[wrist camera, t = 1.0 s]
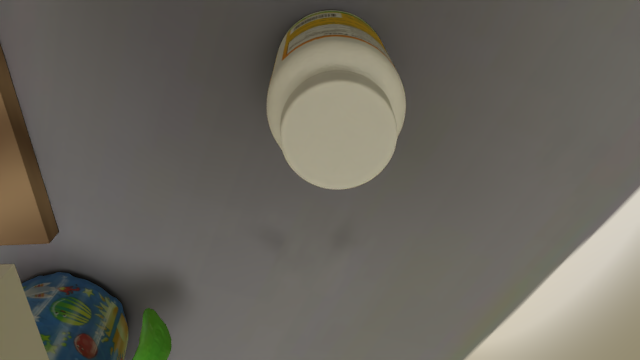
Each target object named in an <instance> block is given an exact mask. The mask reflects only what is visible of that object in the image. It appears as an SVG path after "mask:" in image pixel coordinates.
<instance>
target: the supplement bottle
mask: <svg viewBox="0 0 640 360" xmlns="http://www.w3.org/2000/svg"><path fill="white" fill-rule="evenodd" d="M405 112H406V98H405V92H404V88H403V85H402V82H401V79H400V77H399V75H398V73H397V71H396V69H395V67H394V65H393V63H392V61H391V59H390V57H389V56H388V54H387V52H386V50H385V48H384V46H383V44H382V42H381V40H380V38H379V37H378V35H377V34H376V33H375V31H374V30H373V29H372V28H371V27H370V26H369V25H368V24H367V23H366V22H365V21H363V20H362V19H361V18H359V17H357V16H355V15H353V14H351V13H348V12H344V11H338V10H325V11H319V12H315V13H312V14H310V15H308V16H306V17H304V18H302V19H301V20H299V21H298V22H297V23H295V24H294V25H293V26H292V27H291V28H290V30H289V31H288V32H287V33H286V35H285V36H284V38H283V40H282V42H281V44H280V47H279V50H278V53H277V57H276V61H275V65H274V69H273V73H272V77H271V80H270V84H269V89H268V94H267V118H268V123H269V127H270V130H271V132H272V134H273V136H274V138H275V140H276V142H277V143H278V145H279V147H280V148H281V149H282V152H283V154H284V157H285V159H286V161H287V162H288V164H289V165H290V167H291V168H292V169H293V170H294V171H295V172H296V174H298V175H299V176H300V177H301V178H303V179H304V180H306V181H307V182H309V183H311V184H313V185H316V186H318V187H322V188H327V189H348V188H353V187H356V186H359V185H362V184H364V183H366V182H368V181H370V180H371V179H373V178H374V177H375V176H377V175H378V174H379V173H380V172H381V171H382V170H383V169H384V168H385V167H386V165H387V164H388V162H389V161H390V159H391V157H392V155H393V153H394V150H395V147H396V142H397V137H398V135H399V133H400V131H401V129H402V126H403V123H404V118H405Z"/></svg>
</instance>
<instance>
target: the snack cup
mask: <svg viewBox="0 0 640 360" xmlns="http://www.w3.org/2000/svg"><path fill="white" fill-rule="evenodd" d="M22 287H23V290H24V292H25V295H26V298H27V300H28V303H29V306H30V309H31V311H32V314H33V317H34V320H35V322H36V325H37V328H38V331H39V333H40V336H41V339H42V341H43V344H44V347H45V350H46V352H47V355H48V358H49V360H124V357H125V353H126V349H127V343H128V325H127V321H126V318H125V314H124V311H123V307H122V304H121V303H120V302H119V301H118V299H117V298H115V297H112V296H111V295H109V294H108V293H107V292H106V291H105V290H103V289H102V288H101V287H99V286H98V285H96V284H94V283H91V282H90V281H88V280H85V279H80V278H77V277H74V276H72V275H71V274H70V273H62V272H56V273H55V274H50V275H46V276H37V277H35V278H33V279H30V280H28V281H26V282H24V283H22ZM170 351H171V337H170V334H169V331H168V329H167V326H166V324H165V323H164V322H163V321H162V320H161V319H160V317H159V316H158V314H157V313H156V312H155V311H154V310H153V309H150V308H147V309H145V310H144V313H143V324H142V328H141V333H140V338H139V346H138V348H137V351H136V353H135V355H134V357H133V359H132V360H167V358H168V356H169V354H170Z"/></svg>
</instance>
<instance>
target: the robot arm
mask: <svg viewBox="0 0 640 360" xmlns="http://www.w3.org/2000/svg"><path fill="white" fill-rule="evenodd" d="M0 360H49V358H48V355H47V352H46V350H45V347H44V344H43V341H42V339H41V336H40V333H39V331H38V328H37V325H36V322H35V320H34V317H33V314H32V311H31V309H30V306H29V303H28V300H27V298H26V295H25V292H24V290H23V287H22V284H21V281H20V279H19V276H18V273H17V270H16V268H15V265H14V264H0Z"/></svg>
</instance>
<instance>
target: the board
mask: <svg viewBox="0 0 640 360" xmlns="http://www.w3.org/2000/svg"><path fill="white" fill-rule="evenodd" d="M58 232H59V231H58V228H57V225H56V222H55V218H54V215H53V212H52V209H51V205H50V202H49V199H48V196H47V193H46V189H45V186H44V183H43V180H42V177H41V173H40V170H39V167H38V164H37V161H36V157H35V154H34V151H33V148H32V144H31V141H30V138H29V135H28V132H27V128H26V125H25V122H24V119H23V116H22V112H21V109H20V106H19V103H18V100H17V96H16V93H15V90H14V87H13V83H12V80H11V77H10V74H9V71H8V67H7V64H6V61H5V58H4V55H3V51H2V48H1V45H0V245H22V244H46V243H50V242H51V241H52V240H53V238H54V237H55V236H56V234H57V233H58Z"/></svg>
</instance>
